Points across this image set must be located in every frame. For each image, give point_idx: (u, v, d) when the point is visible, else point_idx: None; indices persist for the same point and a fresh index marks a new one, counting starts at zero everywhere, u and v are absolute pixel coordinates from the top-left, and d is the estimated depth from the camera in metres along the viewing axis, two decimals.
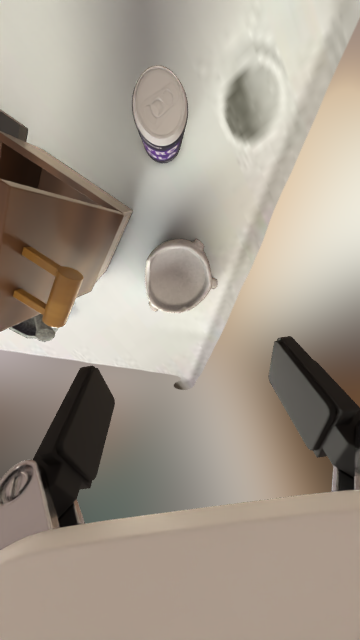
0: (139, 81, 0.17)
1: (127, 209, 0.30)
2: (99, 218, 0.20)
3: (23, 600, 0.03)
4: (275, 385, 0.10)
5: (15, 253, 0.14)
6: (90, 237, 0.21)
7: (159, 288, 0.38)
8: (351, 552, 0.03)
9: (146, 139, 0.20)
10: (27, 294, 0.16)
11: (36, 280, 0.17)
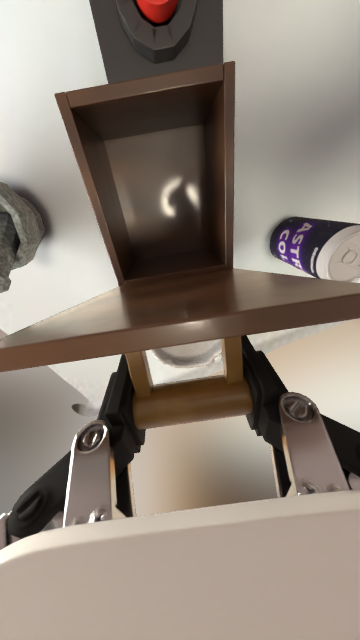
0: None
1: None
2: None
3: (23, 600, 0.03)
4: None
5: None
6: None
7: None
8: (351, 552, 0.03)
9: (316, 258, 0.19)
10: None
11: None
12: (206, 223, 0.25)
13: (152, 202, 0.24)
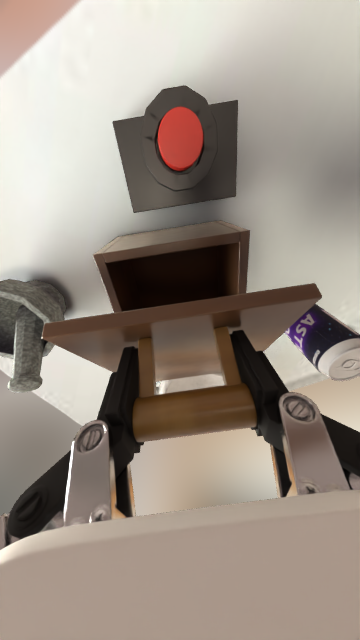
0: None
1: None
2: None
3: (23, 600, 0.03)
4: None
5: (218, 323, 0.09)
6: None
7: (174, 383, 0.34)
8: (351, 552, 0.03)
9: (318, 360, 0.21)
10: (153, 354, 0.10)
11: (165, 348, 0.12)
12: None
13: (166, 287, 0.26)
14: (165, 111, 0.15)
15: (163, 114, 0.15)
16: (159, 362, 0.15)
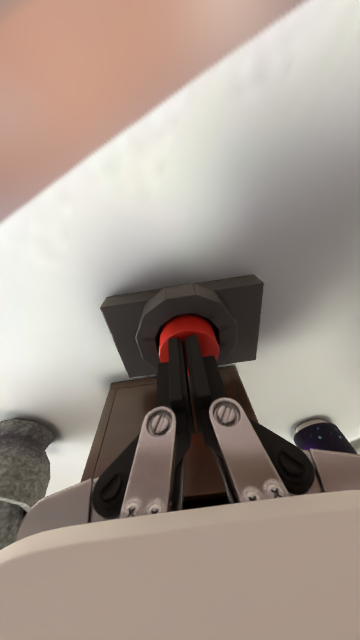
0: None
1: None
2: None
3: (23, 600, 0.03)
4: None
5: None
6: None
7: None
8: (351, 552, 0.03)
9: None
10: None
11: None
12: None
13: None
14: (168, 317, 0.11)
15: (166, 320, 0.11)
16: None
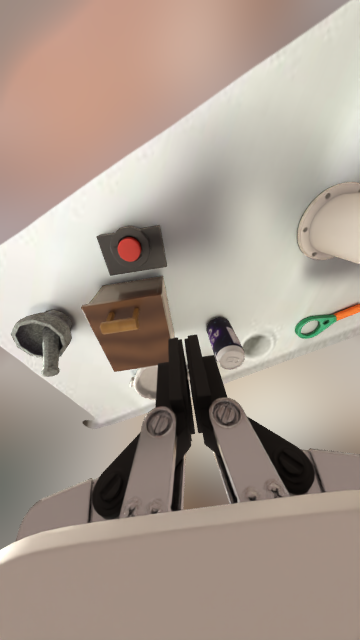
0: (233, 350, 0.34)
1: None
2: (166, 343, 0.34)
3: (23, 600, 0.03)
4: None
5: (134, 305, 0.29)
6: (153, 344, 0.34)
7: (145, 374, 0.50)
8: (351, 552, 0.03)
9: (216, 357, 0.37)
10: (113, 316, 0.29)
11: None
12: None
13: None
14: (121, 236, 0.31)
15: (120, 238, 0.31)
16: (121, 337, 0.33)
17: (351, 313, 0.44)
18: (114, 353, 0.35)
